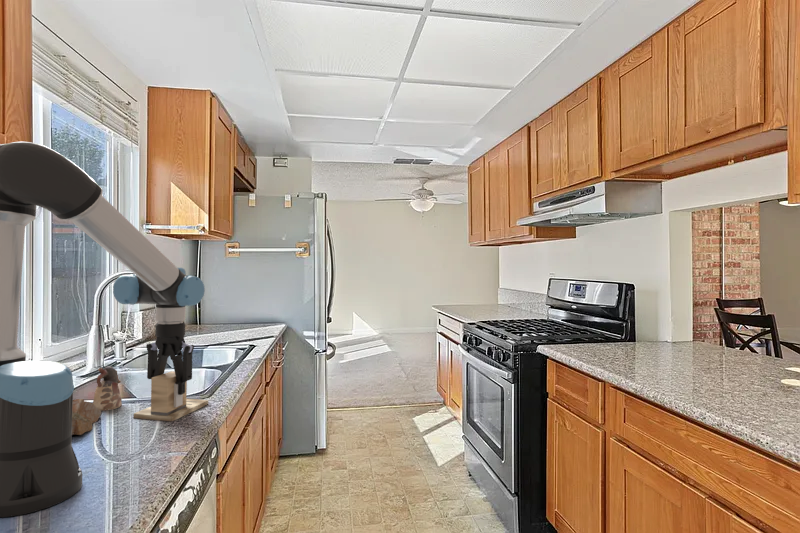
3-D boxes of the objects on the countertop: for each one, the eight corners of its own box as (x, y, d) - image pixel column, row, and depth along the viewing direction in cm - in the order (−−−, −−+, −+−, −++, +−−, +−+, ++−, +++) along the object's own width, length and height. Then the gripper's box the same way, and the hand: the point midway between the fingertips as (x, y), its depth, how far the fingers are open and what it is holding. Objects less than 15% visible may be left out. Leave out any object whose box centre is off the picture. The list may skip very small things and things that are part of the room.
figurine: (126, 406, 135) (127, 365, 135) (99, 412, 129) (100, 370, 129) (114, 402, 139) (115, 362, 139) (88, 407, 133) (89, 366, 133)
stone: (87, 431, 110) (76, 391, 112) (43, 448, 106) (33, 407, 108) (109, 432, 125) (99, 398, 127) (71, 447, 122) (62, 412, 124)
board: (172, 421, 122) (172, 416, 122) (133, 417, 125) (133, 413, 125) (208, 404, 138) (208, 400, 138) (173, 401, 140) (173, 397, 140)
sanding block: (167, 415, 123) (167, 378, 123) (150, 414, 124) (151, 377, 124) (186, 407, 131) (186, 372, 131) (170, 405, 132) (171, 371, 132)
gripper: (207, 321, 130) (206, 403, 130) (152, 319, 133) (150, 399, 133) (190, 325, 122) (189, 411, 122) (132, 322, 126) (130, 406, 126)
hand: (169, 405), depth 128 cm, fingers closed on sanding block, 5 cm apart
